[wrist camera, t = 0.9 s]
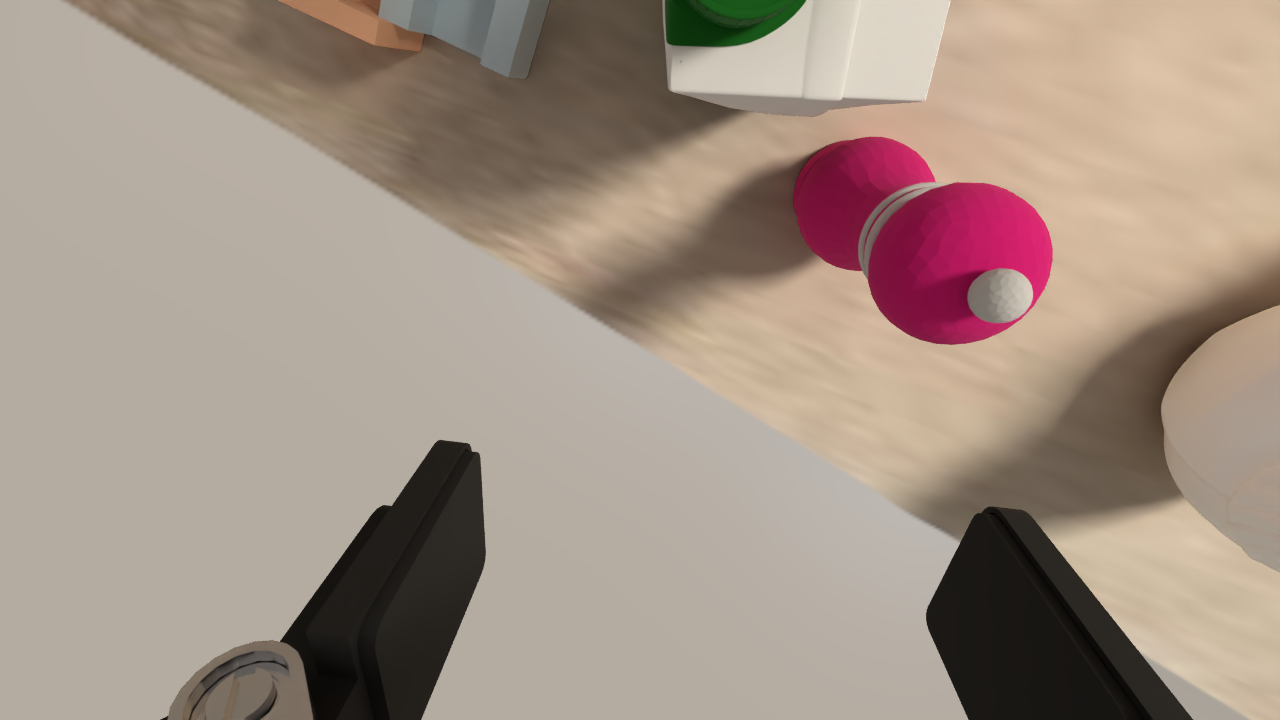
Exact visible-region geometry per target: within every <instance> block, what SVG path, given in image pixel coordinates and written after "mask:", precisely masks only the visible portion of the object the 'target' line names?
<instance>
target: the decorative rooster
mask: <svg viewBox="0 0 1280 720" xmlns="http://www.w3.org/2000/svg"><path fill="white" fill-rule="evenodd" d="M1161 417H1162V422H1163V427H1164V451H1165V458H1166V462H1167V465H1168V468H1169V471H1170V473H1171V475H1172V477H1173V479H1174V481H1175V483H1176V485H1177V487H1178V488H1179V490H1180V491H1181V493H1182V494H1183V496H1184V497H1185V498H1186V499H1187V501H1188V502H1189V503H1190V504H1191V505H1192V506H1193V507H1194V509H1195V510H1196V511H1198V512H1199V513H1200V514H1201V515H1202V516H1203V517H1204V518H1205V519H1206V520H1208V521H1209V522H1210V523H1211V524H1212V525H1213V526H1215V527H1216V528H1217V529H1218V530H1219V531H1220V532H1221V533H1222V534H1224V535H1225V536H1226V537H1227V538H1229V539H1230V540H1231V541H1233V542H1234V543H1236V544H1237V545H1239V546H1240V547H1242V549H1243V550H1244V552H1245V553H1246V554H1247V555H1248V556H1249V557H1250V558H1251V559H1253V560H1255V561H1258V562H1260V563H1263V564H1264V565H1266V566H1268V567H1270V568H1272V569H1274V570H1276V571H1278V572H1280V305H1278V306H1275V307H1272V308H1270V309H1267V310H1264V311H1261V312H1259V313H1257V314H1254V315H1251V316H1249V317H1247V318H1244V319H1242V320H1240V321H1238V322H1236V323H1234V324H1231V325H1229V326H1228V327H1225V328H1224V329H1222V330H1220V331H1218V332H1216V333H1215V334H1214V335H1212V336H1211V337H1210V338H1209V339H1208V340H1206V341H1205V342H1204V343H1203V344H1202V345H1201V346H1200V347H1199V348H1198V349H1197V350H1196V351H1195V352H1194V353H1193V354H1192V355H1191V356H1190V357H1189V358H1188V359H1187V360H1186V361H1185V362H1184V364H1183V365H1182V366H1181V367H1180V368H1179V370H1178V371H1177V372H1176V374H1175V375H1174V377H1173V379H1172V380H1171V382H1170V384H1169V386H1168V388H1167V390H1166V392H1165V395H1164V397H1163V400H1162V404H1161Z"/></svg>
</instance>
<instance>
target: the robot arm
mask: <svg viewBox="0 0 1280 720" xmlns="http://www.w3.org/2000/svg"><path fill="white" fill-rule="evenodd" d="M480 463H481V462H480V455H479V453H478V452H472V450H471V446H470V444H468V443H461V442H452V441H444V440H439V441H437V442H436V443H435V444H434V446H433V447H432V448H431V450H430V451H429V453H428V454H427V456H426V457H425V459H424V460H423V461H422V463H421V464H420V466H419V467H418V469H417V470H416V472H415V473H414V474H413V476H412V477H411V479H410V480H409V482H408V483H407V485H406V486H405V487H404V489H403V490H402V492H401V494H400V495H399V497H398V498H397V499H396V501H395V502H394V503H393V505H392V506H386V505H383V506H381V507H379V508H377V509H376V510H375V512H374V513H373V514H372V515H371V516H370V518H369V519H368V521H367V522H366V523H365V525H364V526H363V527H362V529H361V530H360V532H359V533H358V534H357V536H356V537H355V539H354V540H353V541H352V543H351V544H350V545H349V547H348V548H347V550H346V551H345V552H344V554H343V555H342V557H341V558H340V559H339V561H338V562H337V563H336V565H335V566H334V568H333V569H332V570H331V572H330V573H329V575H328V576H327V577H326V579H325V580H324V581H323V583H322V584H321V586H320V587H319V588H318V590H317V591H316V592H315V594H314V595H313V597H312V598H311V599H310V601H309V602H308V604H307V605H306V606H305V608H304V609H303V610H302V612H301V613H300V615H299V616H298V617H297V619H296V620H295V621H294V623H293V624H292V626H291V627H290V628H289V630H288V631H287V632H286V634H285V635H284V637H283V638H282V640H281V641H280V642H278V641H273V640H270V641H257V642H252V643H249V644H245V645H242V646H239V647H235V648H233V649H231V650H229V651H228V652H226V653H224V654H222V655H220V656H218V657H216V658H214V659H213V660H212V661H210V662H209V663H208V664H206V665H205V666H204V667H202V668H201V669H200V670H199V671H197V672H196V673H195V674H194V675H193V676H192V677H191V678H190V680H189V681H188V682H187V683H186V684H185V685H184V686H183V687H182V688H181V690H180V691H179V693H178V695H177V696H176V698H175V700H174V702H173V703H172V705H171V707H170V711H169V715H168V716H167V717H165V718H163V719H161V720H421V719H422V716H423V714H424V711H425V709H426V706H427V704H428V701H429V699H430V697H431V694H432V692H433V690H434V687H435V685H436V682H437V680H438V677H439V675H440V673H441V670H442V668H443V665H444V663H445V660H446V658H447V656H448V653H449V651H450V648H451V646H452V644H453V641H454V639H455V636H456V634H457V631H458V629H459V627H460V624H461V622H462V619H463V617H464V615H465V612H466V610H467V607H468V605H469V602H470V600H471V598H472V595H473V593H474V590H475V588H476V585H477V583H478V581H479V578H480V576H481V573H482V570H483V567H484V563H485V556H486V551H485V550H486V549H485V532H484V514H483V497H482V480H481V464H480ZM926 621H927V626H928V629H929V632H930V634H931V636H932V638H933V641H934V643H935V645H936V647H937V650H938V652H939V654H940V656H941V659H942V661H943V663H944V665H945V668H946V670H947V672H948V674H949V677H950V679H951V681H952V683H953V686H954V688H955V690H956V692H957V694H958V697H959V699H960V701H961V704H962V706H963V708H964V710H965V712H966V715H967V717H968V719H969V720H1193V719H1192V718H1191V716H1190V715H1189V714H1188V713H1187V712H1186V710H1185V709H1184V708H1183V706H1182V705H1181V704H1180V703H1179V701H1178V700H1177V699H1176V698H1175V696H1174V695H1173V694H1172V693H1171V691H1170V690H1169V689H1168V688H1167V686H1166V685H1165V684H1164V682H1163V681H1162V680H1161V679H1160V677H1159V676H1158V675H1157V674H1156V672H1155V671H1154V670H1153V669H1152V667H1151V666H1150V665H1149V664H1148V662H1147V661H1146V660H1145V659H1144V657H1143V656H1142V655H1141V654H1140V652H1139V651H1138V650H1137V649H1136V647H1135V646H1134V645H1133V644H1132V642H1131V641H1130V640H1129V639H1128V637H1127V636H1126V635H1125V633H1124V632H1123V631H1122V630H1121V628H1120V627H1119V626H1118V625H1117V623H1116V622H1115V621H1114V620H1113V618H1112V617H1111V616H1110V615H1109V613H1108V612H1107V611H1106V610H1105V608H1104V607H1103V606H1102V605H1101V603H1100V602H1099V601H1098V600H1097V598H1096V597H1095V596H1094V595H1093V593H1092V592H1091V591H1090V590H1089V588H1088V587H1087V586H1086V585H1085V583H1084V582H1083V581H1082V579H1081V578H1080V577H1079V576H1078V574H1077V573H1076V572H1075V571H1074V569H1073V568H1072V567H1071V566H1070V564H1069V563H1068V562H1067V561H1066V559H1065V558H1064V557H1063V556H1062V554H1061V553H1060V552H1059V551H1058V549H1057V548H1056V547H1055V546H1054V544H1053V543H1052V542H1051V541H1050V539H1049V538H1048V537H1047V536H1046V534H1045V533H1044V532H1043V531H1042V529H1041V528H1040V527H1039V525H1038V524H1037V523H1036V522H1035V520H1034V519H1033V518H1032V517H1031V516H1030V515H1029V514H1028V513H1027V512H1025V511H1023V510H1017V509H1008V508H1000V507H987V508H986V509H984V511H983V512H982V513H978V514H976V515H975V516H974V517H973V519H972V521H971V523H970V525H969V527H968V529H967V531H966V533H965V535H964V537H963V539H962V541H961V543H960V545H959V547H958V549H957V550H956V552H955V554H954V556H953V558H952V560H951V562H950V564H949V566H948V569H947V570H946V572H945V574H944V576H943V578H942V580H941V582H940V584H939V586H938V588H937V590H936V592H935V594H934V596H933V598H932V600H931V602H930V604H929V606H928V609H927V613H926Z"/></svg>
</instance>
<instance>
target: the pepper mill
mask: <svg viewBox="0 0 1280 720" xmlns="http://www.w3.org/2000/svg"><path fill="white" fill-rule="evenodd" d="M793 201H794V209H795V212H796V215H797V218H798V225H799V228H800V232H801V234H802V236H803V238H804V240H805V242H806V244H807V245H808V246H809V247H810V249H811V250H812V251H813V252H814V253H816V254H817V255H818V256H819V257H821V258H822V259H823V260H824V261H826V262H827V263H829V264H831V265H834V266H836V267H839V268H843V269H847V270H854V271H863V273H864V275H865V276H866V278H867V279H868V283H869V287H870V290H871V294H872V297H873V299H874V301H875V303H876V305H877V306H878V308H879V310H880V311H881V312H882V314H883V315H884V316H885V317H886V318H887V319H888V320H889V321H890V322H891V323H892V324H894V325H895V326H896V327H898V328H899V329H901V330H902V331H904V332H905V333H907V334H908V335H910V336H912V337H915V338H917V339H919V340H923V341H927V342H931V343H936V344H949V345H954V344H966V343H971V342H975V341H980V340H984V339H986V338H989V337H991V336H993V335H996V334H998V333H1000V332H1002V331H1004V330H1006V329H1008V328H1009V327H1010V326H1012V325H1013V324H1015V323H1016V322H1018V321H1019V320H1020V319H1022V317H1023V316H1024V315H1025V314H1026V313H1027V312H1028V311H1029V310H1030V309H1031V308H1032V307H1033V306H1034V304H1035V303H1036V301H1037V300H1038V298H1039V297H1040V295H1041V294H1042V292H1043V291H1044V289H1045V286H1046V284H1047V281H1048V279H1049V276H1050V270H1051V265H1052V254H1053V248H1052V243H1051V239H1050V235H1049V231H1048V229H1047V227H1046V225H1045V223H1044V221H1043V220H1042V218H1041V217H1040V216H1039V214H1038V213H1037V211H1036V210H1035V209H1034V208H1033V207H1032V206H1031V205H1030V204H1028V203H1027V202H1026V201H1025V200H1023V199H1022V198H1020V197H1018V196H1017V195H1015V194H1013V193H1012V192H1010V191H1008V190H1006V189H1004V188H1001V187H998V186H995V185H991V184H985V183H958V182H956V183H953V184H949V185H948V184H944V183H939V182H935V179H934V176H933V174H932V172H931V170H930V169H929V167H928V165H927V163H926V162H925V160H924V159H923V158H922V157H921V156H920V155H919V154H918V153H917V152H915V151H914V150H912V149H911V148H909V147H908V146H906V145H904V144H902V143H900V142H897V141H895V140H893V139H888V138H884V137H865V138H859V139H855V140H846V141H840V142H836V143H833V144H831V145H829V146H826V147H825V148H823V149H822V150H820V151H819V152H817V153H816V154H815V155H814V156H812V157H811V158H810V159H809V161H808V162H807V163H806V165H805V166H804V167H803V169H802V170H801V172H800V174H799V176H798V178H797V181H796V184H795V188H794V196H793Z"/></svg>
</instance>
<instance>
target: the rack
mask: <svg viewBox="0 0 1280 720" xmlns="http://www.w3.org/2000/svg"><path fill="white" fill-rule="evenodd" d="M278 1H280V2H282V3H284V4H286V5H289V6H291V7H293V8H295V9H297V10H299V11H301V12H304V13H306V14H308V15H310V16H312V17H314V18H316V19H319V20H321V21H323V22H325V23H327V24H329V25H331V26H334V27H336V28H338V29H340V30H342V31H344V32H346V33H349V34H351V35H353V36H355V37H357V38H359V39H361V40H364V41H366V42H368V43H370V44H372V45H374V46H381V47H389V48H397V49H404V50H412V51H420V52H421V48H422V43H423V39H424V34H429V35H432V36H434V37H436V38H439V39H441V40H443V41H445V42H447V43H449V44H451V45H453V46H455V47H457V48H460V49H462V50H464V51H466V52H468V53H470V54H472V55H474V56H476V57H478V58H481V62H480V65H482V66H484V67H486V68H488V69H490V70H492V71H495V72H497V73H499V74H501V75H503V76H505V77H507V78H523V79H527V76H528V73H529V70H530V66H531V63H532V59H533V56H534V53H535V49H536V46H537V43H538V39H539V36H540V32H541V29H542V26H543V22H544V19H545V15H546V12H547V9H548V5H549V2H550V0H278Z"/></svg>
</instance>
